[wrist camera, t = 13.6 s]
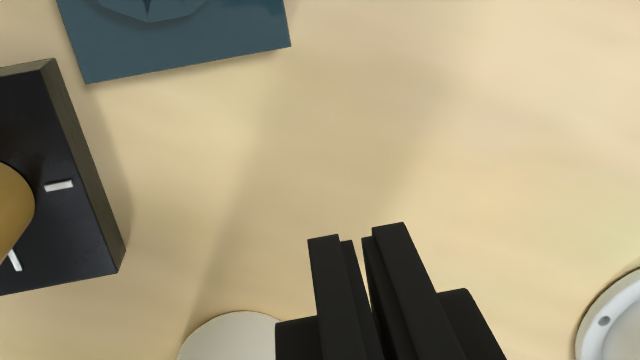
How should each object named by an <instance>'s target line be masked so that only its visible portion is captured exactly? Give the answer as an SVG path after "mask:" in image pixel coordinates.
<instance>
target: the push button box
mask: <svg viewBox="0 0 640 360" xmlns="http://www.w3.org/2000/svg"><path fill="white" fill-rule="evenodd" d="M56 2H57V5H58V8H59V11H60V14H61V17H62V19H63V22H64V25H65V28H66V31H67V33H68V36H69V39H70V42H71V45H72V48H73V50H74V53H75V56H76V59H77V62H78V65H79V67H80V70H81V73H82V76H83V79H84V81H85V84H91V83H97V82H102V81H107V80H113V79H118V78H124V77H129V76H135V75H140V74H145V73H151V72H156V71H162V70H167V69H173V68H178V67H183V66H189V65H194V64H200V63H205V62H211V61H216V60H221V59H227V58H232V57H238V56H243V55H249V54H254V53H259V52H265V51H270V50H276V49H281V48H287V47H291V41H290V35H289V30H288V24H287V19H286V13H285V8H284V2H283V0H56Z"/></svg>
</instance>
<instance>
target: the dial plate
mask: <svg viewBox="0 0 640 360" xmlns="http://www.w3.org/2000/svg"><path fill="white" fill-rule="evenodd" d="M0 162H1V163H3V164H5V165H7V166H9V167H11V168H12V169H14V170H15V171H16V172H18V173H19V174H20V175H21V176H22V177H23V178H24V179H25V181H26V182H27V183H28V185H29V187H30V189H31V190H32V193H33V196H34V201H35V211H34V215H33V218H32V220H31V222H30V223H29V225H28V226H27V228H26V229H25V231H24V232H23V233H22V235H21V236H20V238H19V239H18V241H17V242H16V243H15V245H14V246H13V248H12V249H11V251H10V252H9V253H8V255H7V256H6V258H5V259H4V261H3V262H2V263H1V265H0V296H3V295H8V294H13V293H18V292H23V291H29V290H34V289H39V288H44V287H49V286H54V285H59V284H65V283H70V282H75V281H80V280H85V279H90V278H95V277H101V276H106V275H111V274H116V273H118V271H119V268H120V265H121V263H122V260H123V257H124V254H125V252H126V248H125V245H124V243H123V240H122V237H121V235H120V232H119V229H118V227H117V224H116V221H115V218H114V216H113V213H112V210H111V208H110V205H109V202H108V200H107V197H106V194H105V191H104V189H103V186H102V183H101V181H100V178H99V175H98V173H97V170H96V167H95V165H94V162H93V159H92V156H91V154H90V151H89V148H88V146H87V143H86V140H85V138H84V135H83V132H82V129H81V127H80V124H79V121H78V119H77V116H76V113H75V111H74V108H73V105H72V103H71V100H70V97H69V94H68V92H67V89H66V86H65V84H64V81H63V78H62V76H61V73H60V70H59V67H58V65H57V62H56V59H55V58H49V59H44V60H38V61H33V62H27V63H22V64H16V65H11V66H5V67H0Z"/></svg>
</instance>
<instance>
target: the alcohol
mask: <svg viewBox="0 0 640 360" xmlns="http://www.w3.org/2000/svg"><path fill="white" fill-rule="evenodd" d="M278 322H281V321H279V320H278V319H276V318H274V317H271V316H269V315H266V314H262V313H258V312H250V311H240V312H231V313H227V314H223V315H220V316H218V317H215V318H213V319H211V320H210V321H208V322H206V323H205V324H203V325H202V326H200V327H199V328H197V329H196V330H195V331H194V332H193V333H192V334H191V335H189V336H188V337H187V339H186V340H185V342H184V343H183V345H182V346H181V348H180V351H179V353H178V356H177V360H275V324H276V323H278Z"/></svg>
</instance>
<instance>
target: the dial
mask: <svg viewBox="0 0 640 360" xmlns="http://www.w3.org/2000/svg"><path fill="white" fill-rule="evenodd" d="M34 211H35V201H34V196H33V193H32V190H31V189H30V187H29V185H28V183H27V182H26V181H25V179H24V178H23V177H22V176H21V175H20V174H19V173H18V172H16V171H15V170H14V169H12V168H11V167H9V166H7V165H5V164H3V163H1V162H0V265H1V263H2V262H3V261H4V259H5V258H6V256H7V255H8V253H9V252H10V251H11V249H12V248H13V246H14V245H15V243H16V242H17V241H18V239H19V238H20V236H21V235H22V233H23V232H24V231H25V229H26V228H27V226H28V225H29V223H30V222H31V220H32V218H33V215H34Z"/></svg>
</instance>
